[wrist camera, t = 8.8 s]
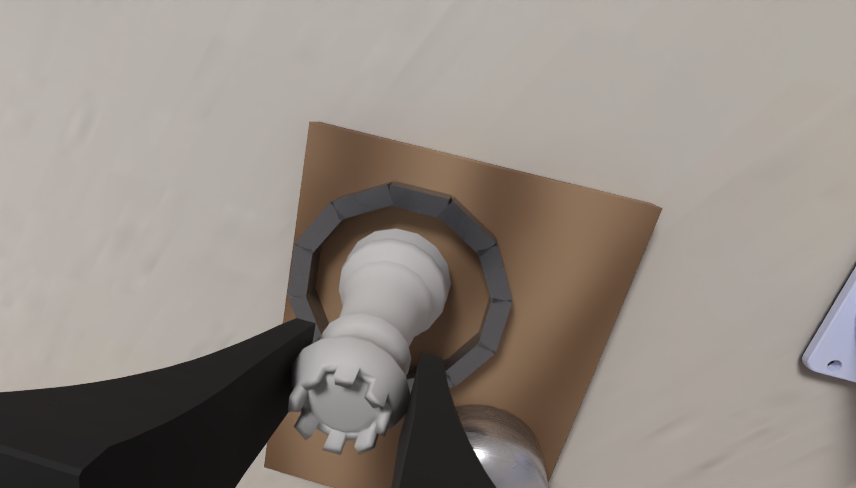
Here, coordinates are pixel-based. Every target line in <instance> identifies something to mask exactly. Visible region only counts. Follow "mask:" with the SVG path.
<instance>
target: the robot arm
mask: <svg viewBox="0 0 856 488" xmlns="http://www.w3.org/2000/svg"><path fill="white" fill-rule="evenodd" d="M315 325H316V323H313V322H310V321H306V320H302V319H299V318H295V319H293V320H290V321H288V322H285V323H283V324H281V325H279V326H277V327H274V328H272V329H270V330H268V331H266V332H263V333H261V334H259V335H256V336H254V337H252V338H250V339H247V340H245V341H243V342H240V343H238V344H235V345H232V346H230V347H227V348H225V349H222V350H220V351H217V352H214V353H212V354H209V355H206V356H203V357H200V358H197V359H194V360H191V361H188V362H184V363H181V364H177V365H174V366H170V367H167V368H163V369H158V370H154V371H149V372H145V373H141V374H136V375H132V376H127V377H123V378H117V379H111V380H106V381H100V382H94V383H87V384H80V385H73V386H65V387H56V388H45V389H35V390H24V391H13V392H0V488H235V487H236V486H237V484H238V483H239V481H240V480H241V478H242V477H243V475H244V474H245V472H246V471H247V469H248V468H249V467H250V465H251V464H252V463H253V461H254V460H255V458H256V457H257V456H258V454H259V453H260V451H261V450H262V449H263V447H264V446H265V445H266V443H267V442H268V440H269V439H270V438H271V436H272V435H273V433H274V432H275V431H276V429H277V428H278V426H279V425H280V424H281V422H282V421H283V419H284V418H285V417H286V415H287V414H288V412H289V411H288V406H289V396H290V395H291V393H292V391H293V390H292V387H291V384H290V380H291V371H292V364H293V363H294V361H295V360H296V358H297V357H298V355H299V354H300V353H301V351H302V350H303V349H304V348H306V347H307V346H309V345H311V344H312V343H313V337H314V331H315ZM833 360H834V362H833V363H832V364H831V365H828V363H829V362H830V361H833ZM802 362H803V364H804V365H805V366H806V367H807V368H809V369H810V370H812V371H814V372H817V373H821V374H825V375H829V376H832V377H836V378H840V379H844V380H848V381H851V382H855V383H856V267H855V269H854V270H853V272H852V274H851V275H850V277H849V279H848V280H847V282H846V284H845V286H844V287H843V289H842V291H841V292H840V294H839V296H838V297H837V299H836V301H835V302H834V304H833V306H832V307H831V309H830V311H829V312H828V314H827V316H826V317H825V319H824V321H823V322H822V324H821V326H820V327H819V329H818V331H817V333H816V334H815V336H814V338H813V339H812V341H811V343H810V344H809V346H808V348H807V349H806V351H805V353H804V354H803V357H802ZM827 365H828V366H827ZM391 488H496V486H495V485H494V483H493V482H492V480H491V479H490V477H489V476H488V474H487V473H486V471H485V469H484V468H483V466H482V464H481V462H480V461H479V459H478V457H477V455H476V453H475V451H474V450H473V448H472V446H471V444H470V442H469V440H468V437H467V435H466V433H465V431H464V428H463V426H462V424H461V421H460V419H459V416H458V414H457V411H456V408H455V405H454V402H453V399H452V396H451V393H450V389H449V386H448V382H447V377H446V373H445V366H444V361H443V359H442V358H441V357H437V356H434V355H430V354H426V353H423V352H421V356H420V360H419V363H418V367H417V371H416V375H415V379H414V383H413V387H412V391H411V397H410V400H409V404H408V408H407V412H406V414H405V418H404V422H403V426H402V430H401V433H400V437H399V442H398V448H397V455H396V461H395V467H394V474H393V480H392V486H391Z"/></svg>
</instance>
